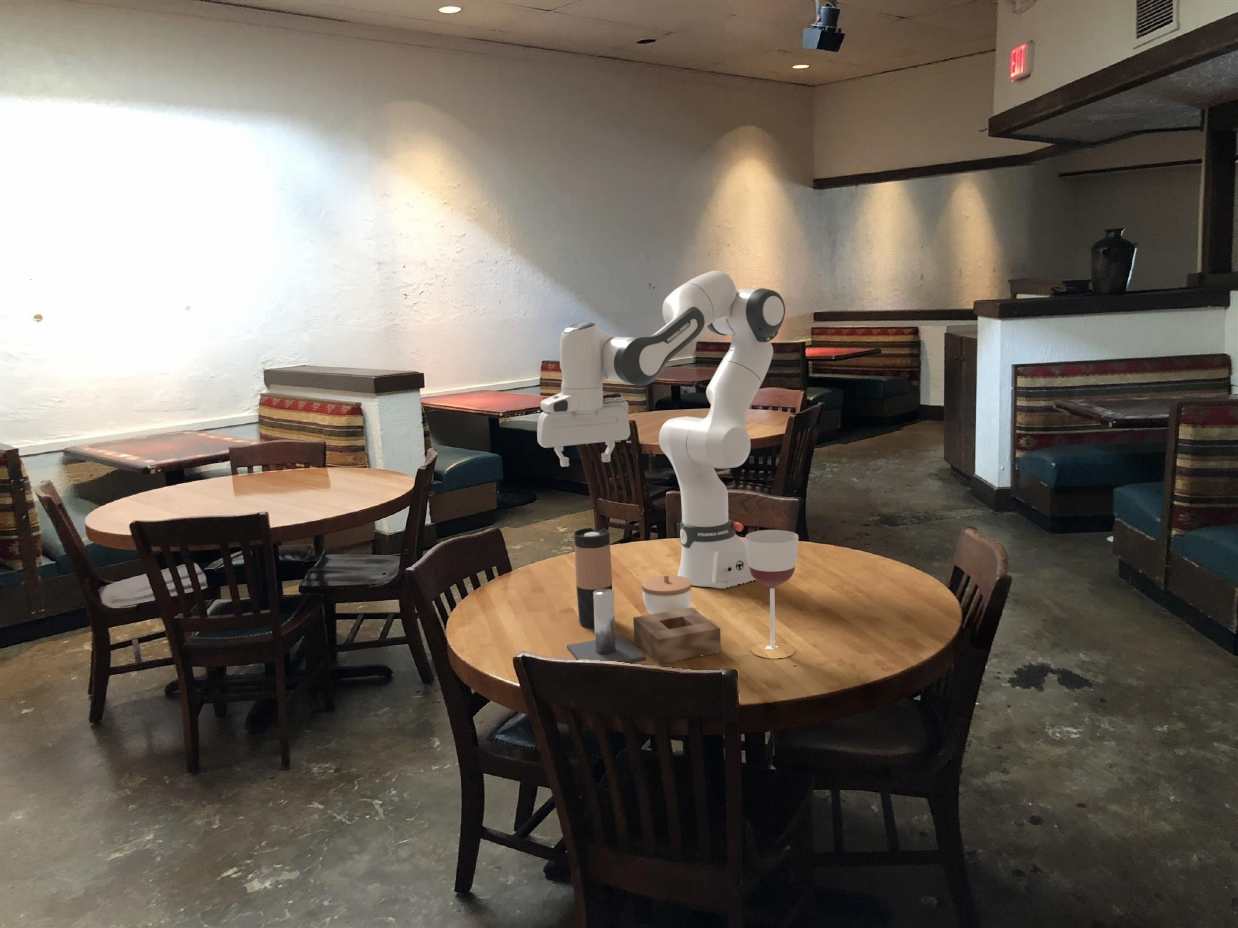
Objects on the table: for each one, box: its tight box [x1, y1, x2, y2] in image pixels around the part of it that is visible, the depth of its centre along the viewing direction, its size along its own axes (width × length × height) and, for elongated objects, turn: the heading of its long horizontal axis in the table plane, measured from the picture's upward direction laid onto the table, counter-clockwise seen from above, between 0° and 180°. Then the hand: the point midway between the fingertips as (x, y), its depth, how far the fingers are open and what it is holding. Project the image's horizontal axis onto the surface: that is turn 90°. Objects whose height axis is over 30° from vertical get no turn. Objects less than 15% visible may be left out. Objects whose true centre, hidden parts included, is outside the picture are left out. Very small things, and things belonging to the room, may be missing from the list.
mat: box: [566, 634, 646, 663], centre depth 184 cm, size 12×12×1 cm
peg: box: [593, 589, 616, 655], centre depth 182 cm, size 4×4×12 cm
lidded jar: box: [641, 574, 693, 615], centre depth 201 cm, size 11×11×9 cm
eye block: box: [632, 607, 722, 665], centre depth 185 cm, size 13×13×5 cm
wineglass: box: [744, 529, 799, 650], centre depth 179 cm, size 9×10×23 cm
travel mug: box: [573, 527, 613, 629], centre depth 199 cm, size 8×8×20 cm
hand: (585, 463), depth 202 cm, fingers open, 8 cm apart
